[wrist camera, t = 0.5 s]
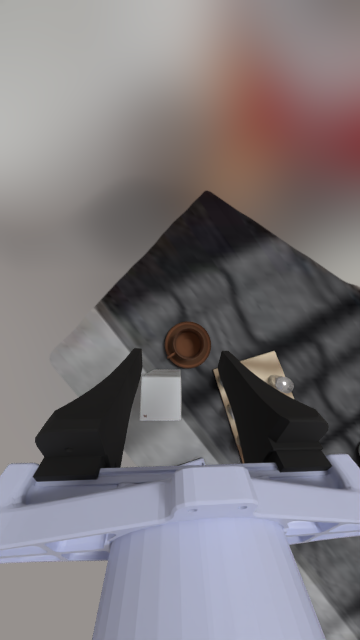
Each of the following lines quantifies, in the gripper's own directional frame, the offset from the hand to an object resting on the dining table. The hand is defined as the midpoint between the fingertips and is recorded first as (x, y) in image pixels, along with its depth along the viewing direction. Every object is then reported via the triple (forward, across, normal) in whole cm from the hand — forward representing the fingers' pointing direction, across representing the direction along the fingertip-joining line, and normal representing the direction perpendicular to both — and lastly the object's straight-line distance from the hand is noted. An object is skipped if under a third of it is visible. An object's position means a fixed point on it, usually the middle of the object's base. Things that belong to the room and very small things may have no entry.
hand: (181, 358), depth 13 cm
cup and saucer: (+23, -4, +15) cm, 27 cm away
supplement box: (+17, +1, +23) cm, 28 cm away
